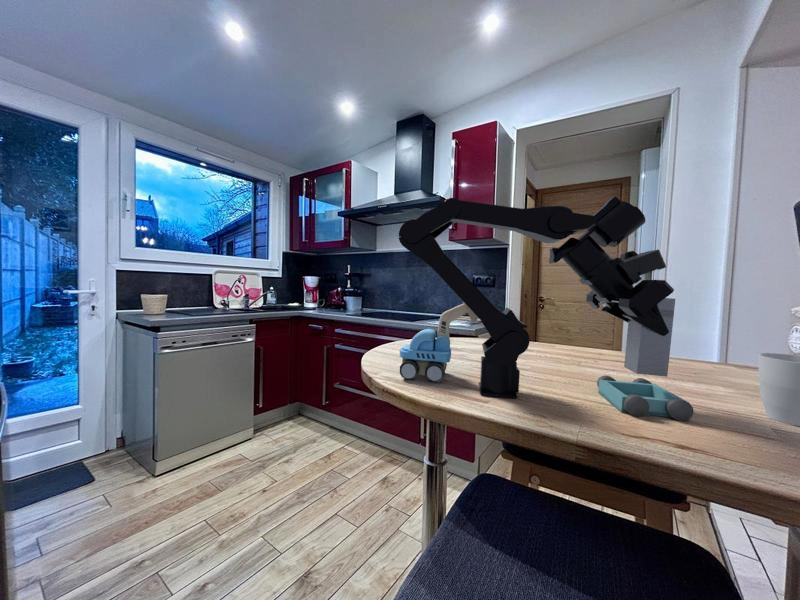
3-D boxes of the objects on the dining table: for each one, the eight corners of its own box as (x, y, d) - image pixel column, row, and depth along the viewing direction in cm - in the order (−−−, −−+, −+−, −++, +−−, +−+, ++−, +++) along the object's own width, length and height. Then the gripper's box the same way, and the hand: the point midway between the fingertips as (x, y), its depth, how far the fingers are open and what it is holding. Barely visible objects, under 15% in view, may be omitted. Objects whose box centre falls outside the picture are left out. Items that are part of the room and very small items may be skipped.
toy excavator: (476, 387, 64) (480, 301, 63) (395, 380, 67) (396, 298, 66) (476, 375, 72) (479, 299, 71) (403, 369, 76) (405, 296, 74)
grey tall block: (636, 373, 54) (644, 297, 53) (624, 366, 59) (630, 296, 58) (667, 376, 53) (675, 298, 52) (652, 369, 58) (659, 297, 57)
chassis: (625, 415, 51) (626, 395, 51) (595, 390, 63) (596, 374, 63) (693, 422, 50) (695, 401, 49) (650, 395, 61) (651, 378, 61)
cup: (851, 436, 46) (859, 368, 45) (776, 426, 49) (783, 362, 48) (802, 414, 54) (809, 355, 53) (740, 407, 56) (745, 351, 56)
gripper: (664, 223, 46) (747, 305, 45) (608, 240, 64) (666, 298, 63) (599, 276, 48) (676, 355, 47) (563, 277, 66) (617, 334, 65)
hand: (657, 332), depth 55 cm, fingers closed on grey tall block, 4 cm apart
